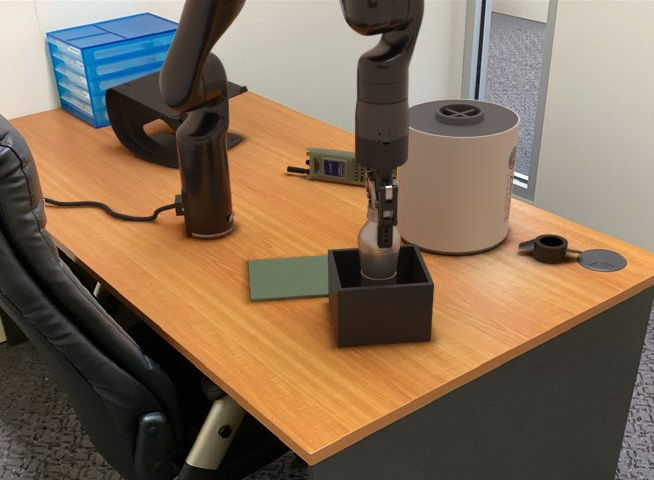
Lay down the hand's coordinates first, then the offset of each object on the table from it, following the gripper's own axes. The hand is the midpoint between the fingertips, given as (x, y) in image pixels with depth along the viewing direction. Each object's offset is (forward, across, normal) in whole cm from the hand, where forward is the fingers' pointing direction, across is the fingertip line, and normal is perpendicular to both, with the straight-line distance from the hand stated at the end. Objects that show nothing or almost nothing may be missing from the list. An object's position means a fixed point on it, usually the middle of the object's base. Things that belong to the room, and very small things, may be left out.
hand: (380, 234), depth 127 cm
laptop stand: (+15, -86, -34) cm, 94 cm away
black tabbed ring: (+16, -18, +34) cm, 41 cm away
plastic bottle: (+15, 0, 0) cm, 16 cm away
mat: (+15, -16, -10) cm, 24 cm away
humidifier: (+15, -31, +17) cm, 39 cm away
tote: (+15, 0, 0) cm, 15 cm away
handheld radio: (+15, -58, +1) cm, 60 cm away
